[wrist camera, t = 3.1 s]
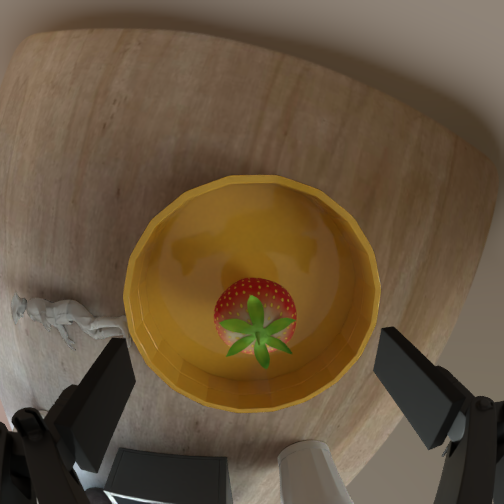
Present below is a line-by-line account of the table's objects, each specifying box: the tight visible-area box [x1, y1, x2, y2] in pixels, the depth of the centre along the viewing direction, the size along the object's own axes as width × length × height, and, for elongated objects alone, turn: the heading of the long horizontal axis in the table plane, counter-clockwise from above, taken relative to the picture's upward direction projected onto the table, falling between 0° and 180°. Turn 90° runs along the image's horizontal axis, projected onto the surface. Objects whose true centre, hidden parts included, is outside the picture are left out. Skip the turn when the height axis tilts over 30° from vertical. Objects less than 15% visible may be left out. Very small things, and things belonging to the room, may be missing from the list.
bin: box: [103, 448, 233, 504], centre depth 25 cm, size 14×14×8 cm
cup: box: [278, 440, 354, 504], centre depth 23 cm, size 8×8×12 cm
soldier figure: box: [11, 292, 132, 351], centre depth 21 cm, size 8×5×12 cm
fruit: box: [214, 278, 297, 369], centre depth 19 cm, size 5×5×8 cm
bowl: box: [123, 175, 381, 413], centre depth 21 cm, size 18×18×4 cm
